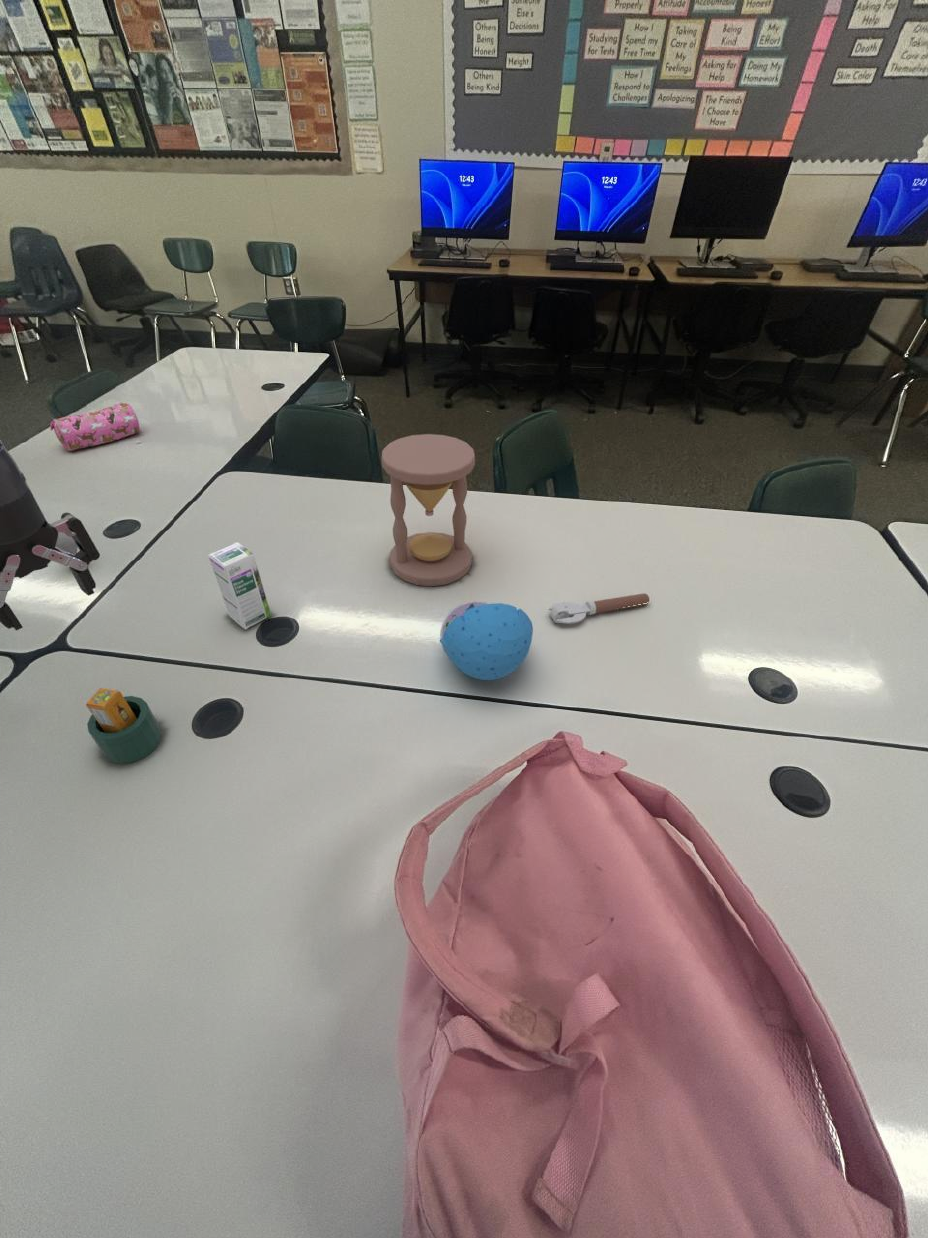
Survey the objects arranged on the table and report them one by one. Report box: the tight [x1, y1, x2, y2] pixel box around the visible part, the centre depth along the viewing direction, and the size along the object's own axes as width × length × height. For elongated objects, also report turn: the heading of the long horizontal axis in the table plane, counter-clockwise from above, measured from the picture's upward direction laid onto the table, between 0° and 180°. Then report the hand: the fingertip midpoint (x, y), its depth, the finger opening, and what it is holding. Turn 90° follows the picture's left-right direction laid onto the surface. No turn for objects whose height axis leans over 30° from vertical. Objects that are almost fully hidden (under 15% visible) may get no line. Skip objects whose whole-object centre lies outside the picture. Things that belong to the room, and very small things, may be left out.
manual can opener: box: [548, 593, 650, 624], centre depth 109 cm, size 20×6×3 cm, turn 112°
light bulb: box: [55, 532, 79, 555], centre depth 114 cm, size 5×6×10 cm
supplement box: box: [85, 687, 137, 733], centre depth 81 cm, size 3×4×10 cm
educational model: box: [439, 601, 534, 681], centre depth 94 cm, size 16×19×15 cm
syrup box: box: [207, 541, 272, 630], centre depth 102 cm, size 6×6×14 cm
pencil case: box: [49, 402, 141, 452], centre depth 162 cm, size 21×9×9 cm, turn 137°
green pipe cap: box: [87, 695, 162, 765], centre depth 83 cm, size 8×8×6 cm
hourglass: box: [381, 433, 476, 587], centre depth 113 cm, size 18×18×25 cm
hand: (53, 608), depth 70 cm, fingers open, 8 cm apart
